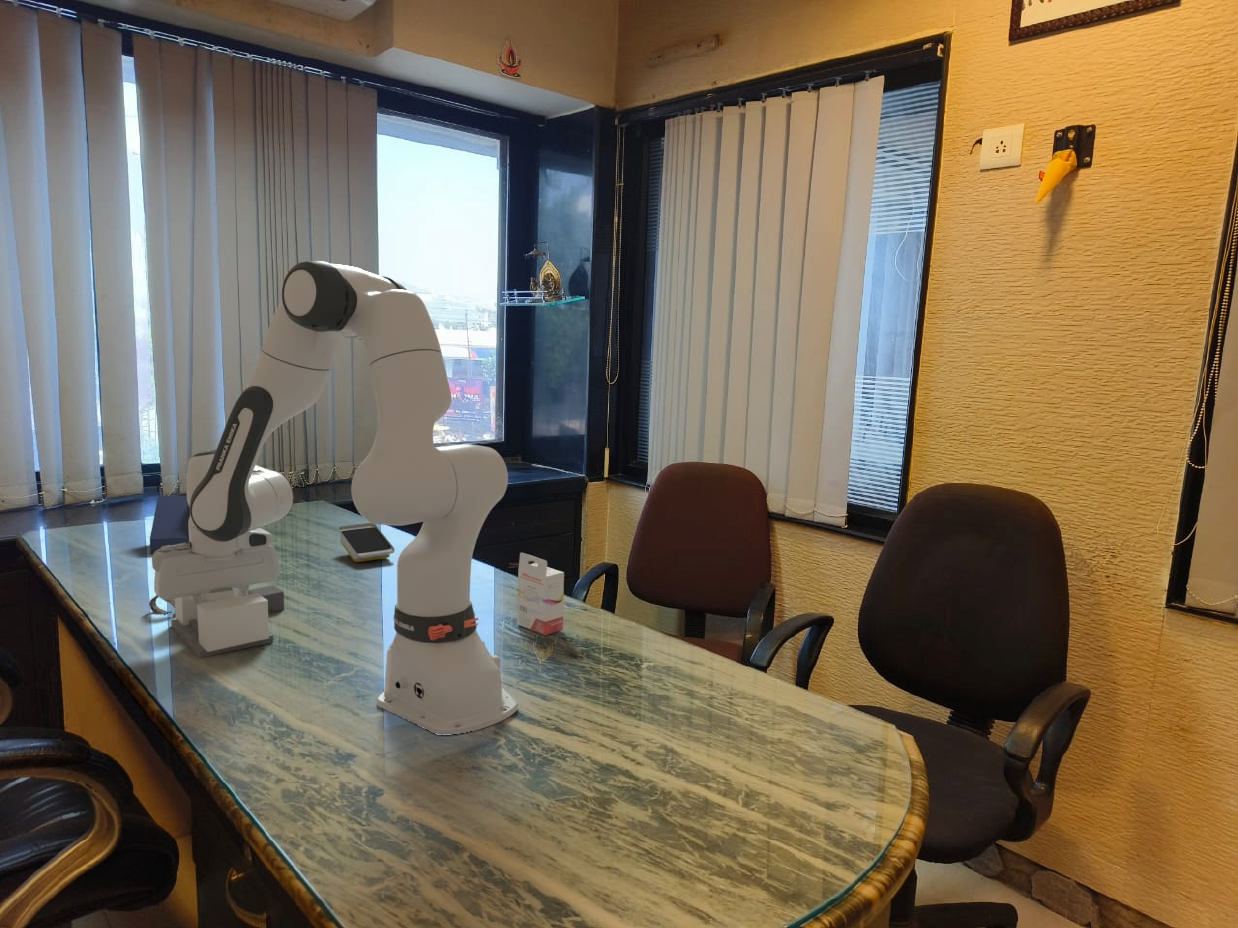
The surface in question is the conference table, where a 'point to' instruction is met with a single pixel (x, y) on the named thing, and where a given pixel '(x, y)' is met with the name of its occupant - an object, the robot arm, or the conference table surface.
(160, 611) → the wristwatch
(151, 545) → the phone stand
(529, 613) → the ink cartridge box
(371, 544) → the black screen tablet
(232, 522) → the robot arm
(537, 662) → the conference table surface
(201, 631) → the rail base
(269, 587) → the grey cube-like block
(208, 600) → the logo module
